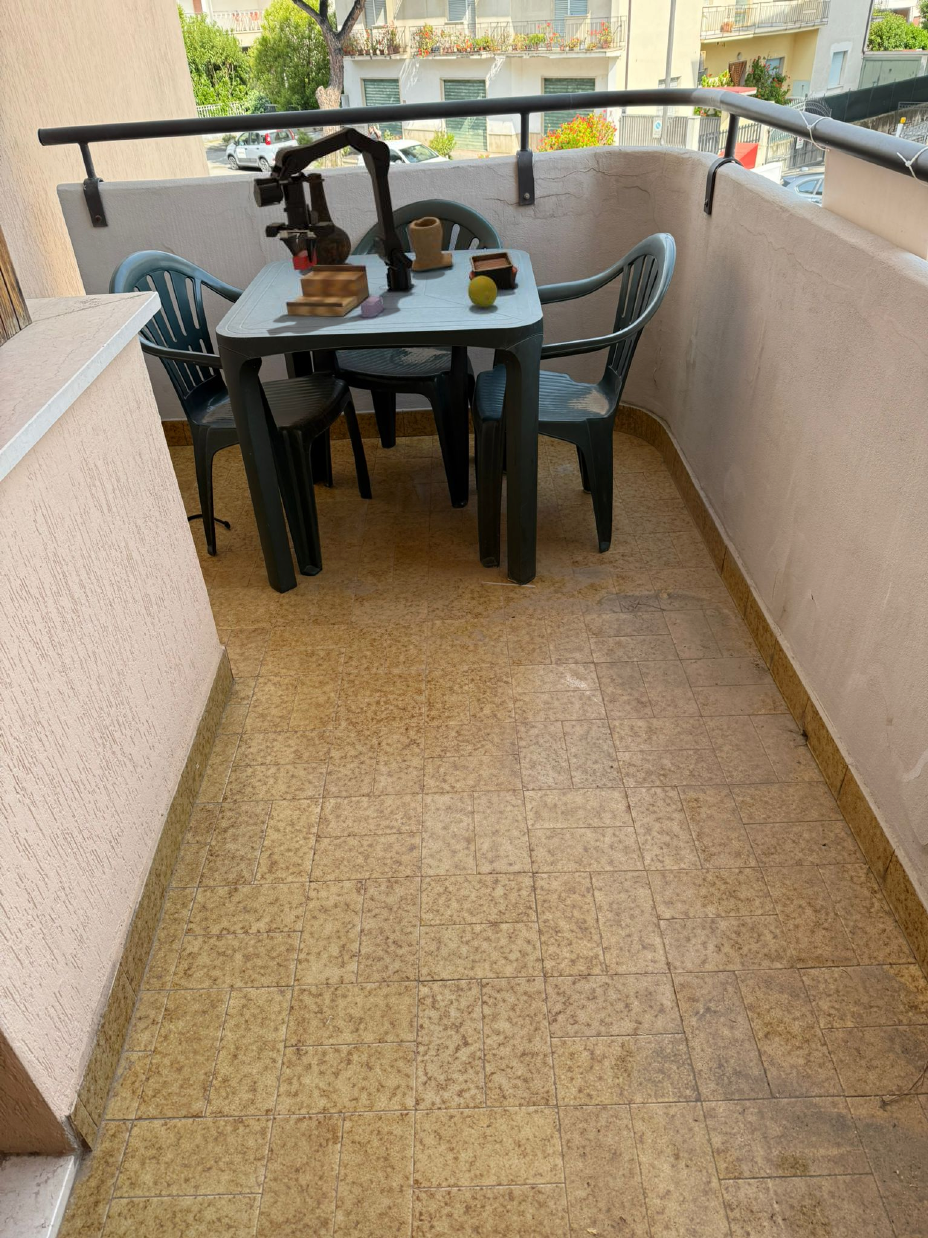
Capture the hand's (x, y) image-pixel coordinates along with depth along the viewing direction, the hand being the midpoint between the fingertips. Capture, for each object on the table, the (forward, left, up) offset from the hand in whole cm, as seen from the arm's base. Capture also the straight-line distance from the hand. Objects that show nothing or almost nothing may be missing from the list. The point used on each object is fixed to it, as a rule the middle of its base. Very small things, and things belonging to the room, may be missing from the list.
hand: (305, 262), depth 235 cm
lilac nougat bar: (-20, +4, -12) cm, 24 cm away
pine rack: (-4, -3, -12) cm, 13 cm away
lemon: (-50, -4, -13) cm, 52 cm away
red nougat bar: (0, 0, -1) cm, 1 cm away
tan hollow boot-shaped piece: (-23, -43, -13) cm, 51 cm away
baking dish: (-48, -25, -13) cm, 55 cm away
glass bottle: (+15, -45, -13) cm, 49 cm away
